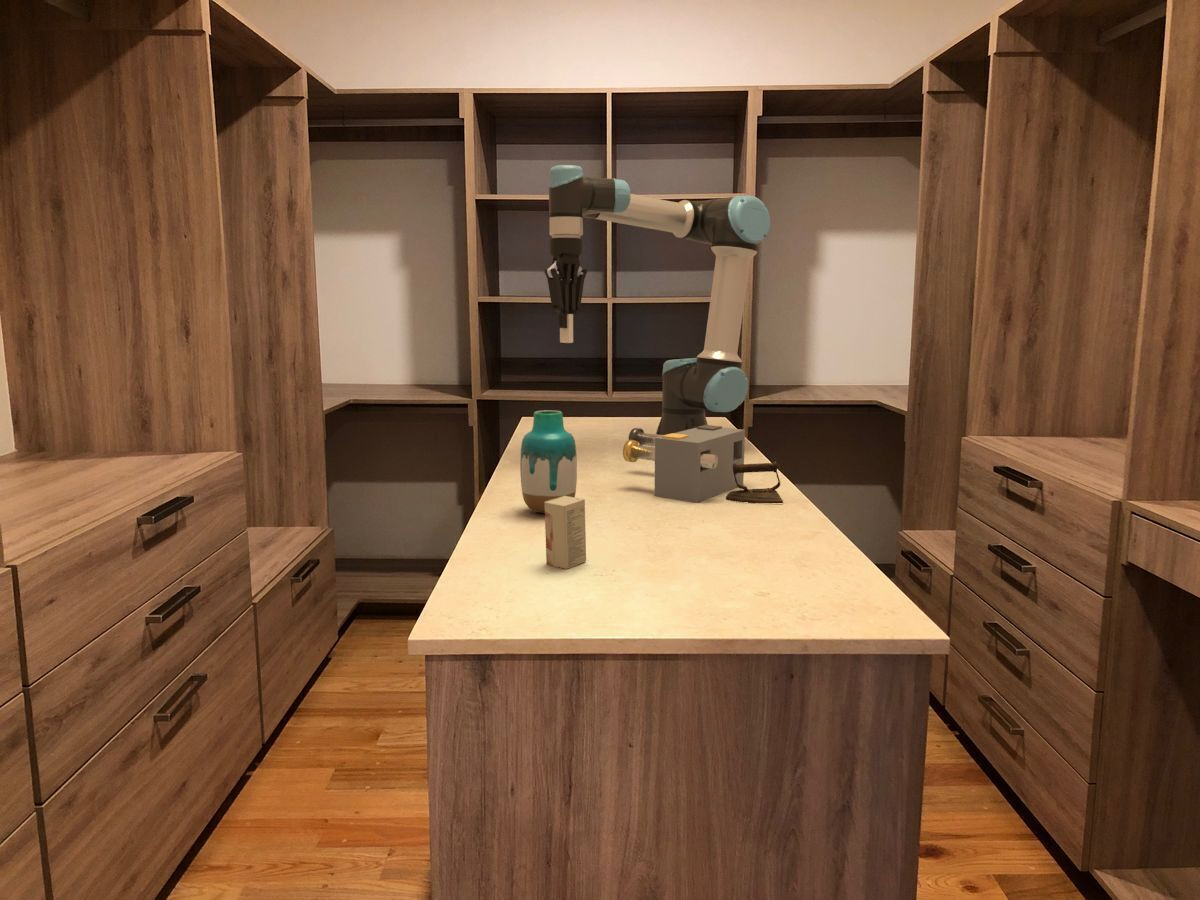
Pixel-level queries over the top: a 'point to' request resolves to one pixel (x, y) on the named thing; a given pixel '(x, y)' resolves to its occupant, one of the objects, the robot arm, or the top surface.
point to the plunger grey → (643, 437)
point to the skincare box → (565, 531)
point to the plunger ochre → (635, 452)
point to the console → (697, 462)
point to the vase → (547, 461)
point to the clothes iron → (755, 494)
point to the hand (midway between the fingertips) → (566, 342)
